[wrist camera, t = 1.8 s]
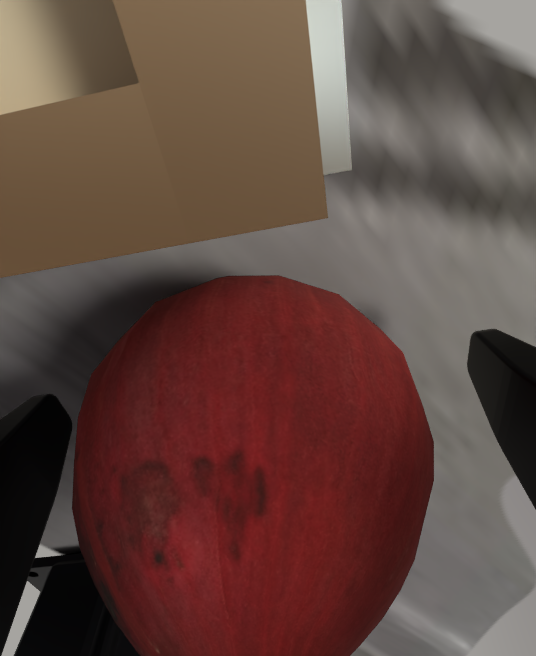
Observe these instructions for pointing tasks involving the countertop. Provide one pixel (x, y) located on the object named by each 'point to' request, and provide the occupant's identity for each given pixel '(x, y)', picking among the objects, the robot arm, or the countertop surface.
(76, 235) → the tan square tray
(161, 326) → the onion
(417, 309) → the countertop surface
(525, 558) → the countertop surface
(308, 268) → the countertop surface
